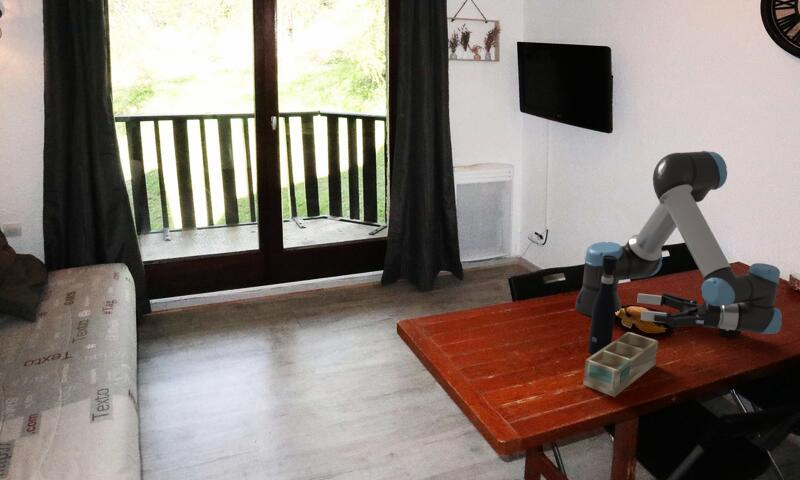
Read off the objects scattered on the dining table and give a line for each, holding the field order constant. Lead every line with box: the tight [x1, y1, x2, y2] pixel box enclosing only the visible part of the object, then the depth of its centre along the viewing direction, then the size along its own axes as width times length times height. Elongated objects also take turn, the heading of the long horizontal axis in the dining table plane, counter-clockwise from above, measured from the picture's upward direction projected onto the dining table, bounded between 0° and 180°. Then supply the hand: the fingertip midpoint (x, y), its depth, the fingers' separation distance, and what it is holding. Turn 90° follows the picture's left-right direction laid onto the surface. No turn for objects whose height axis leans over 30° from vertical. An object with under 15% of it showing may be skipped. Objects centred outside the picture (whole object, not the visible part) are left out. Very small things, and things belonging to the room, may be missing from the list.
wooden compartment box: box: [582, 331, 659, 398], centre depth 186 cm, size 9×26×8 cm, turn 137°
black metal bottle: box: [587, 255, 617, 355], centre depth 197 cm, size 6×6×30 cm
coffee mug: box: [717, 302, 744, 340], centre depth 215 cm, size 12×9×10 cm
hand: (639, 306), depth 194 cm, fingers open, 13 cm apart
